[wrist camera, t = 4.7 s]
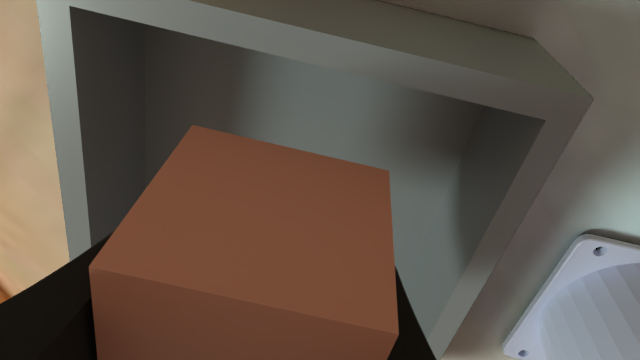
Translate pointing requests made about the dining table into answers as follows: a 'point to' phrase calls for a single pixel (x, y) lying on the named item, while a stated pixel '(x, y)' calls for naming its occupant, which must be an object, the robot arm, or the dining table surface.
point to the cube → (250, 259)
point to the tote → (317, 116)
